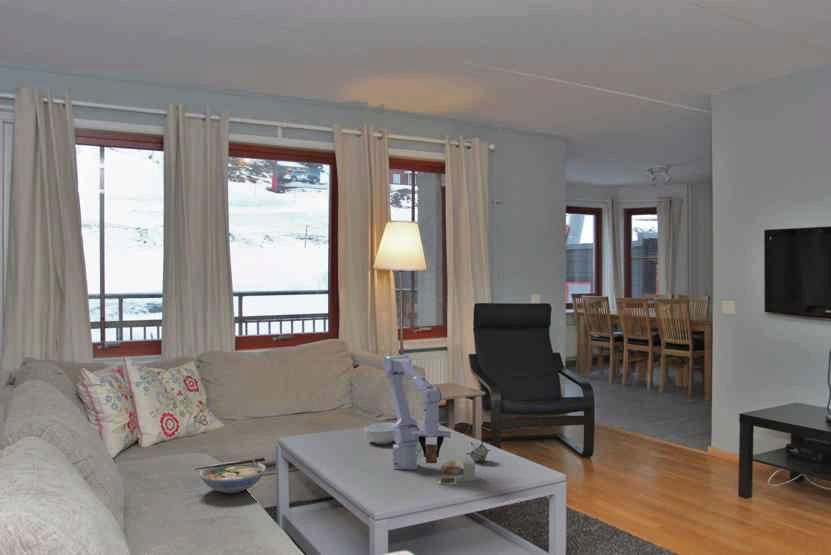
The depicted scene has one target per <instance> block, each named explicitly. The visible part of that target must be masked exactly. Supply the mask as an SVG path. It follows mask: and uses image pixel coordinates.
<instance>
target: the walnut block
mask: <svg viewBox="0 0 831 555" xmlns="http://www.w3.org/2000/svg"><path fill="white" fill-rule="evenodd" d="M437 463H438V457H437V443H431V444H429V443H428V444H427V443H426V457H425V464H437Z"/></svg>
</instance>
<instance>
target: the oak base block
mask: <svg viewBox="0 0 831 555" xmlns="http://www.w3.org/2000/svg"><path fill="white" fill-rule="evenodd" d="M440 469H441V470H440V471H441V472H440V473H441V474H451V475H452V474H455V475H457V474H461V461H456V460H455V461H452V460H451V461H449V460H447V461H445V460H444V461H443V460H442V461H441V466H440Z"/></svg>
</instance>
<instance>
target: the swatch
mask: <svg viewBox="0 0 831 555" xmlns="http://www.w3.org/2000/svg"><path fill="white" fill-rule="evenodd" d="M438 485H457V477H438Z"/></svg>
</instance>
